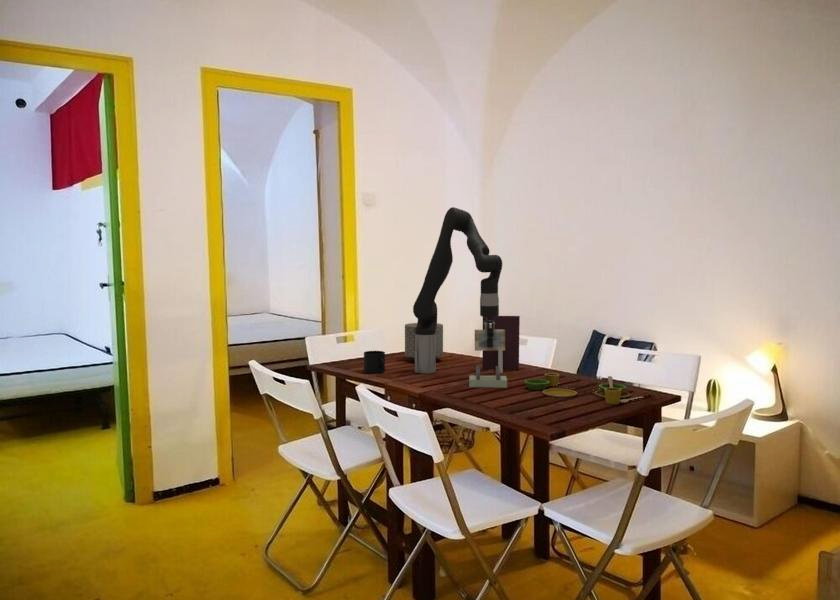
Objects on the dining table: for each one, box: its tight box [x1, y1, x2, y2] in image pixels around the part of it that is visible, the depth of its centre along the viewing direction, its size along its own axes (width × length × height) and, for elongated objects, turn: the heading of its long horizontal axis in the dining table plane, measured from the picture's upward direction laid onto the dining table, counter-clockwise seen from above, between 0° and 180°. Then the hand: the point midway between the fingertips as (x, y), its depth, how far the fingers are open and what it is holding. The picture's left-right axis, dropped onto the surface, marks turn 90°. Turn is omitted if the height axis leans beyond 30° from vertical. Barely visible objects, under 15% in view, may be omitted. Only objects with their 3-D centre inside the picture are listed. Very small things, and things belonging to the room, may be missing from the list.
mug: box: [363, 350, 386, 375], centre depth 286 cm, size 9×12×9 cm
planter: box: [404, 322, 444, 362], centre depth 317 cm, size 19×19×18 cm
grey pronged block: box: [468, 365, 508, 389], centre depth 258 cm, size 15×9×7 cm, turn 85°
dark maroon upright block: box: [481, 315, 521, 374], centre depth 288 cm, size 17×10×25 cm, turn 84°
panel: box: [474, 329, 505, 352], centre depth 258 cm, size 12×4×8 cm, turn 87°
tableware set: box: [523, 372, 644, 406], centre depth 243 cm, size 41×28×6 cm
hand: (489, 346), depth 258 cm, fingers closed on panel, 4 cm apart
